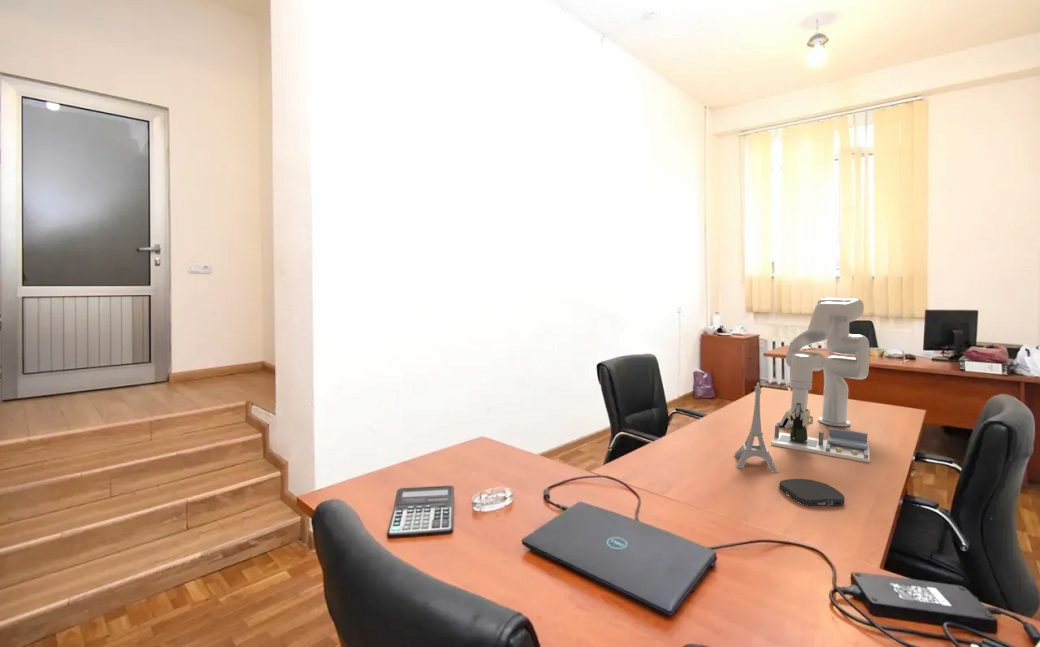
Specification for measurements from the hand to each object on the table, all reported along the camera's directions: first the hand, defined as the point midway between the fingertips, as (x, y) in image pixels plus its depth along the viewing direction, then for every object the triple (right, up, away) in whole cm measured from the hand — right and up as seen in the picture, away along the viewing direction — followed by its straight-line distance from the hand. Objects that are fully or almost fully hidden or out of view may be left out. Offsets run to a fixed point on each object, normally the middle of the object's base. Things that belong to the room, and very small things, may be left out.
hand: (798, 425), depth 194 cm
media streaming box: (-24, -12, -46) cm, 53 cm away
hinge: (+13, -6, +26) cm, 30 cm away
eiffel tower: (-28, -10, -20) cm, 36 cm away
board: (+6, -8, -4) cm, 11 cm away
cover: (+15, -5, -6) cm, 18 cm away
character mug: (0, -6, +1) cm, 6 cm away
